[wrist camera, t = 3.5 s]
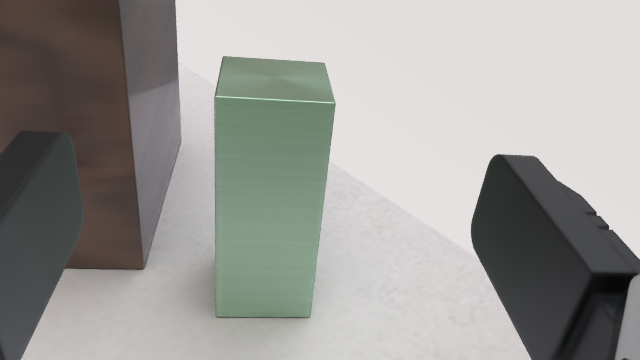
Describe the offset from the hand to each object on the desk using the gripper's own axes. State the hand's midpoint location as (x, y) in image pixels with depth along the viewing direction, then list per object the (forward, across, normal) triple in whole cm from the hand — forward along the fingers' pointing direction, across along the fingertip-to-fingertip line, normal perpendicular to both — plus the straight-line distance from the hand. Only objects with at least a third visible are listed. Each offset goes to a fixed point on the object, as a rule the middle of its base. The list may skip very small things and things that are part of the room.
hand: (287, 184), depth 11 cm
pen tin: (+12, 0, +13) cm, 18 cm away
